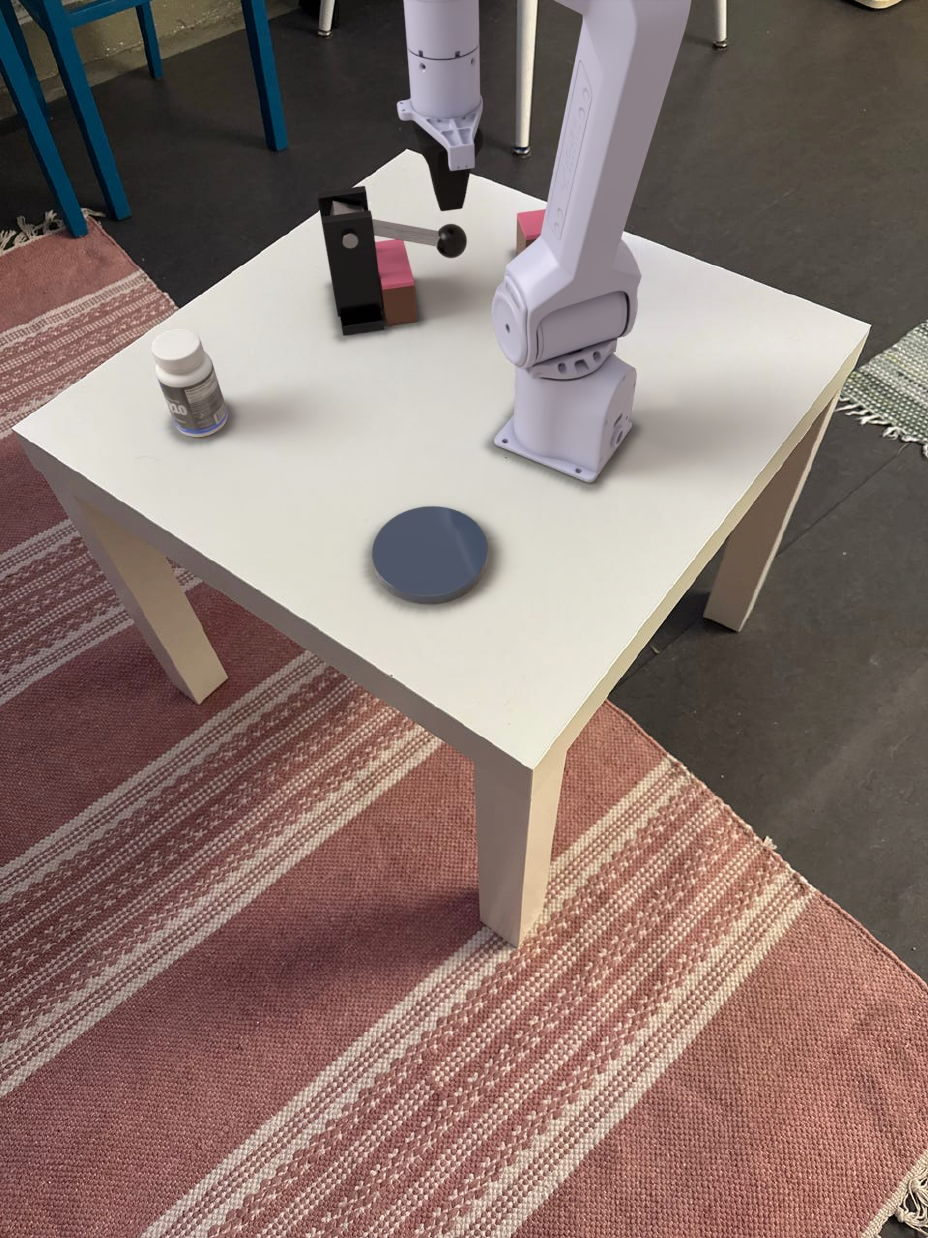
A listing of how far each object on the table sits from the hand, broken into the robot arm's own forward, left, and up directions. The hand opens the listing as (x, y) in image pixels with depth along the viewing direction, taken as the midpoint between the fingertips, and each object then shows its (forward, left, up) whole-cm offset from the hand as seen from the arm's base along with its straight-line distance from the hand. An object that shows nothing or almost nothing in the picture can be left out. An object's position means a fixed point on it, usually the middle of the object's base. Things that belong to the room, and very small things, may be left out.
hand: (450, 205), depth 83 cm
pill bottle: (+10, +26, -9) cm, 30 cm away
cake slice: (-5, -9, -9) cm, 14 cm away
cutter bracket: (+7, +6, -9) cm, 13 cm away
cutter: (+4, +3, -3) cm, 6 cm away
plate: (-16, +29, -9) cm, 35 cm away
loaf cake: (+4, +4, -9) cm, 11 cm away
